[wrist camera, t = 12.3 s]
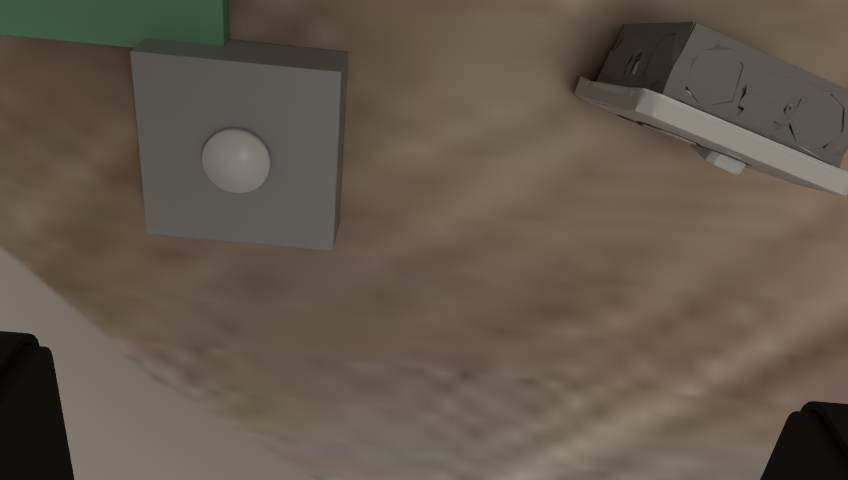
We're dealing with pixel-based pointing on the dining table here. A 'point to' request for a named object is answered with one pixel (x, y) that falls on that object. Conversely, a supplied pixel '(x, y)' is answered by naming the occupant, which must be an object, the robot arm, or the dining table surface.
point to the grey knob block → (241, 141)
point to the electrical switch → (727, 102)
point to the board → (117, 20)
